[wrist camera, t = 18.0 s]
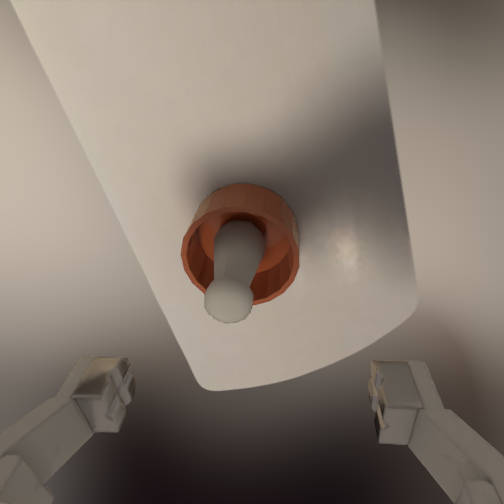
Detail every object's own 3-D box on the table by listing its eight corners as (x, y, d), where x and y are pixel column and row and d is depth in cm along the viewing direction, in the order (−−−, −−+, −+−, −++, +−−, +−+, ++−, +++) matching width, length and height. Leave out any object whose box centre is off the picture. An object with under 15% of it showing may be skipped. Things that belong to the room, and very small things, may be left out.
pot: (296, 180, 37) (298, 203, 32) (297, 273, 43) (299, 305, 38) (185, 186, 38) (170, 209, 33) (202, 275, 45) (192, 306, 40)
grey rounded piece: (218, 209, 39) (192, 278, 28) (268, 214, 39) (263, 286, 28) (216, 253, 42) (193, 330, 31) (263, 258, 42) (257, 337, 31)
